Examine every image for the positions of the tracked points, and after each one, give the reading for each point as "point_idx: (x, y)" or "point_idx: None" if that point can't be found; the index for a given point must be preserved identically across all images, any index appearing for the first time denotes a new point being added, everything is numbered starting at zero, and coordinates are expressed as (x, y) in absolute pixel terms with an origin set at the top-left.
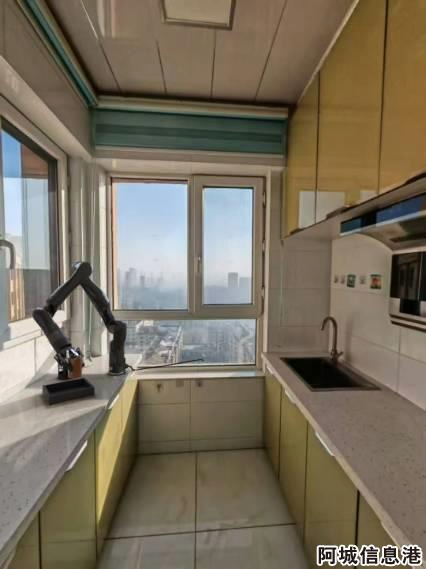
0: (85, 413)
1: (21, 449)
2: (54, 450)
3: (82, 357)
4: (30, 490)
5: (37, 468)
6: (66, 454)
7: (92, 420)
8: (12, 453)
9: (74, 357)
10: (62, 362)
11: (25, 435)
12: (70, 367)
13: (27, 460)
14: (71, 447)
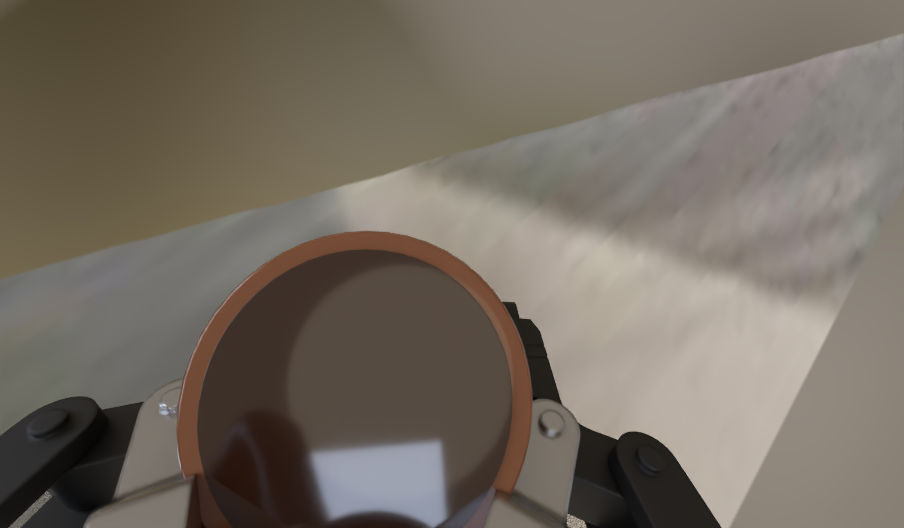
0: (510, 200)
1: (815, 237)
2: (764, 128)
3: (101, 413)
4: (898, 65)
5: (843, 111)
6: (759, 80)
7: (552, 132)
8: (843, 246)
9: (395, 400)
10: (675, 482)
11: (754, 306)
12: (531, 341)
13: (838, 168)
14: (726, 89)
